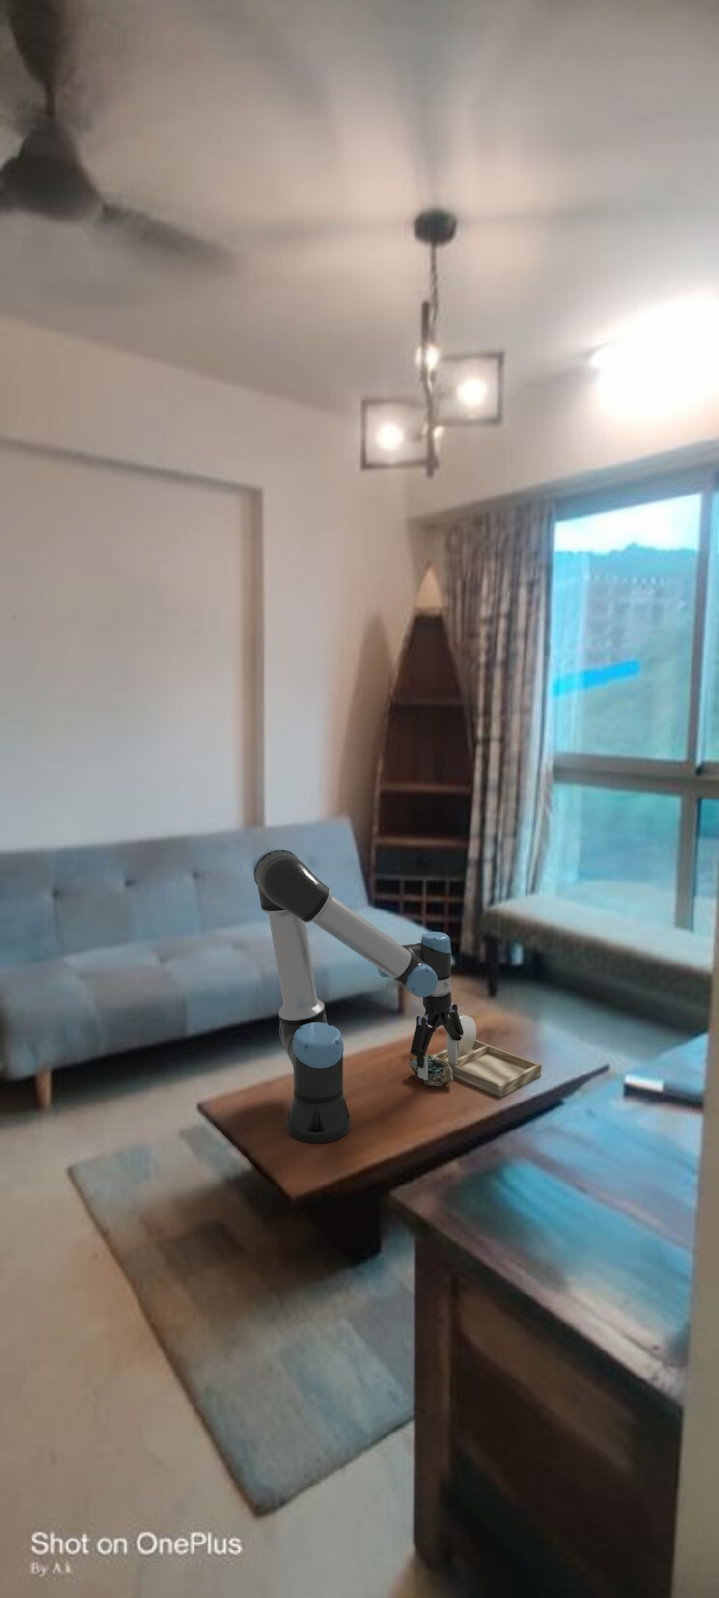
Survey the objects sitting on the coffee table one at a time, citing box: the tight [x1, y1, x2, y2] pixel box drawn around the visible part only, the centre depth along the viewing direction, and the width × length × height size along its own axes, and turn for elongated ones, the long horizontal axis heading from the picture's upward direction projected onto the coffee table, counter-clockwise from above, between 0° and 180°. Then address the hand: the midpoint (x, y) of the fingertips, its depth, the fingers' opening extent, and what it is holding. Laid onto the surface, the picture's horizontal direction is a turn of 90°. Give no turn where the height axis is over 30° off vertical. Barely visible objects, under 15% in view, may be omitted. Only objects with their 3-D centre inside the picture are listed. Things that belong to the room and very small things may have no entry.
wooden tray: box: [432, 1038, 542, 1098], centre depth 216 cm, size 18×24×3 cm
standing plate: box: [445, 1014, 477, 1058], centre depth 222 cm, size 12×1×12 cm, turn 133°
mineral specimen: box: [408, 1054, 454, 1088], centre depth 210 cm, size 12×9×8 cm
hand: (438, 1070), depth 210 cm, fingers open, 11 cm apart
